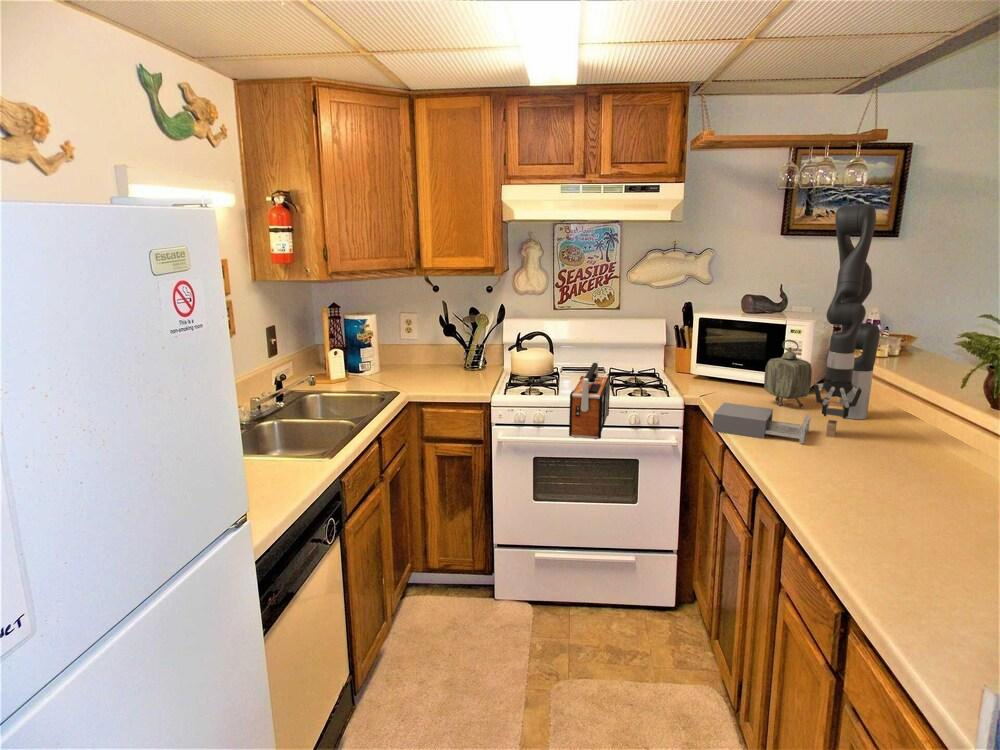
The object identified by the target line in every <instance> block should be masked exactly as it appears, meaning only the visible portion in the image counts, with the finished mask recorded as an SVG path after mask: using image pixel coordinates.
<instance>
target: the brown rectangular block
mask: <svg viewBox="0 0 1000 750" xmlns="http://www.w3.org/2000/svg"><path fill="white" fill-rule="evenodd" d="M837 422H838V421H837V420H835V419H834V420H833V419H828V421H827V424H826V432H825V437H827V438H828V437H829V438H835V436H836V431H837Z"/></svg>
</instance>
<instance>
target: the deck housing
mask: <svg viewBox="0 0 1000 750" xmlns="http://www.w3.org/2000/svg"><path fill="white" fill-rule="evenodd" d="M773 413H774V408H770V407H763V406H762V407H760V406H755V405H746V404H738V403H731V402H723V403H722V404H721V405H720V406H719V407H718V408H717V409H716V410H715V411H714V413H713V416H712V417H713V419H712V430H711V431H712V432H716V433H723V434H728V435H735V436H736V435H737V436H741V437H742V436H743V437H749V438H754V439H755V438H756V439H761V440H762V439H763V440H764V439H765V437H766V436H767V434H765V427H766V422H767V420H770V421H773Z"/></svg>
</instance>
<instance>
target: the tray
mask: <svg viewBox="0 0 1000 750" xmlns="http://www.w3.org/2000/svg"><path fill="white" fill-rule="evenodd" d="M810 424H811V414H806V415H805V417H804V420H803V422H802V424H798V423H790V422H783V421H775V420H772V421H770V420H767V422H766V427H765V434H766V435H773V436H778V437H784V438H785V437H786V438H792V439H798V440H799V442H798V443H800V444H804V443H805V440H806V438H807V436H808V434H809V431H810Z"/></svg>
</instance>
